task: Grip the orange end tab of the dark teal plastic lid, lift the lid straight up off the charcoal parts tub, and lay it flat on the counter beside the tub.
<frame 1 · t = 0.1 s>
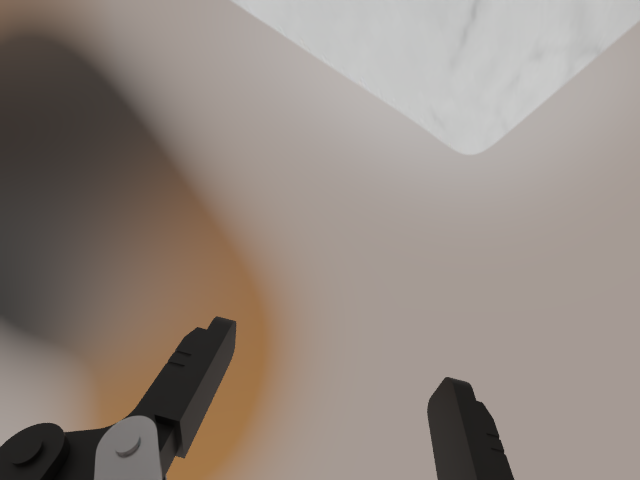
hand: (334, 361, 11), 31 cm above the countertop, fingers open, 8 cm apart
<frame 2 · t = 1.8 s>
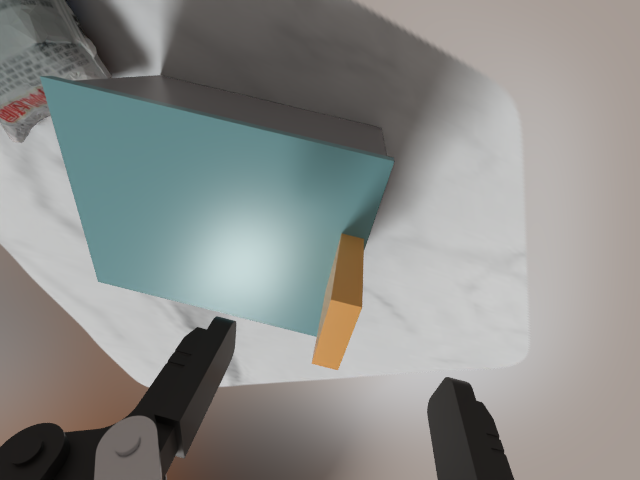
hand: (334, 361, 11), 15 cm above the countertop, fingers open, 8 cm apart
lid: (219, 229, 17), point 8 cm above the countertop, touching tub
packaged food: (57, 58, 21), on the countertop
tub: (262, 181, 24), on the countertop
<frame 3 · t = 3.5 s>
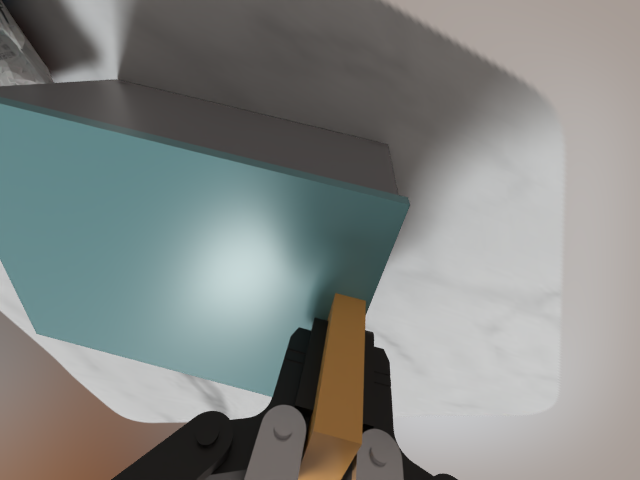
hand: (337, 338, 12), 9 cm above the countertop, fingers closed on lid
lid: (178, 278, 13), point 8 cm above the countertop, touching gripper, tub
tub: (244, 205, 20), on the countertop
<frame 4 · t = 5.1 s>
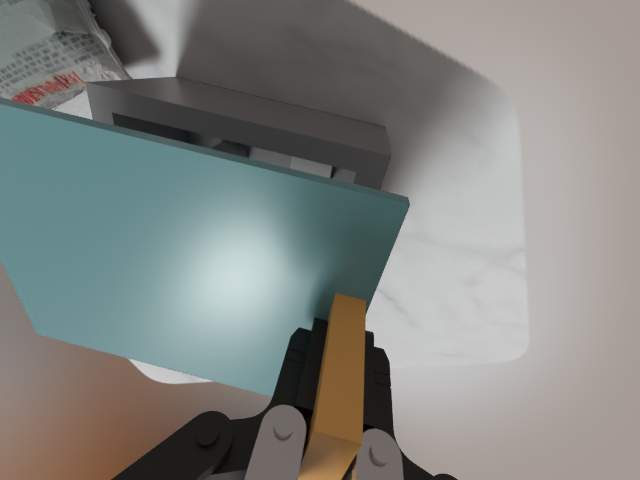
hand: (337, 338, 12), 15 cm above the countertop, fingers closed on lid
lid: (178, 278, 13), point 14 cm above the countertop, touching gripper
packaged food: (71, 48, 22), on the countertop
tub: (270, 178, 25), on the countertop
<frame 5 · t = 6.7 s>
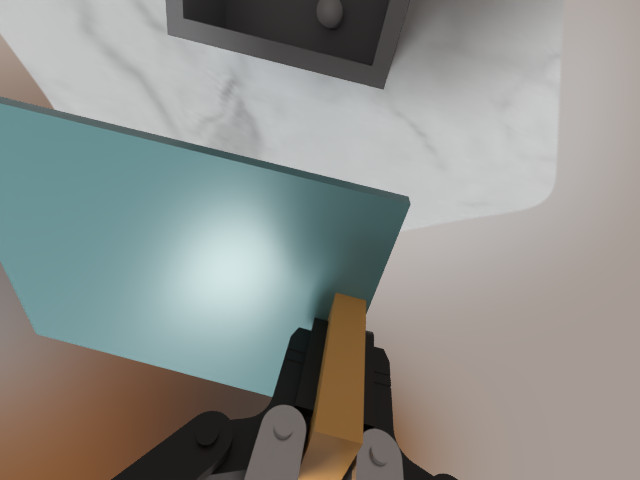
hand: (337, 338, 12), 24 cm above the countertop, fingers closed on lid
lid: (178, 278, 13), point 23 cm above the countertop, touching gripper
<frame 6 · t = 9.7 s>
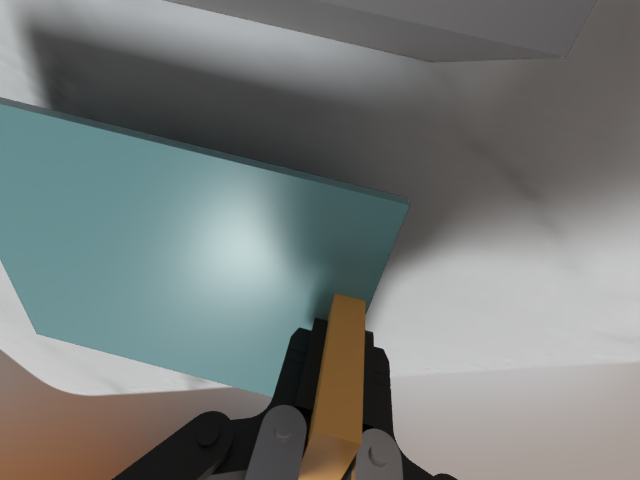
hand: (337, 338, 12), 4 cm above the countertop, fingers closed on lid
lid: (178, 278, 13), point 3 cm above the countertop, touching gripper
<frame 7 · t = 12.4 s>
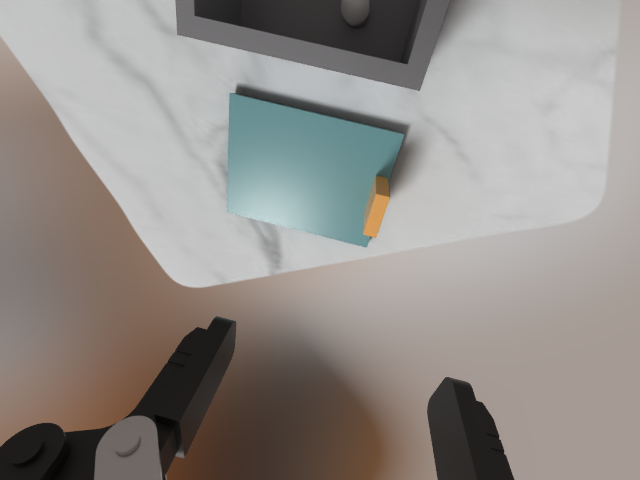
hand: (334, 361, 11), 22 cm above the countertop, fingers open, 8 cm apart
lid: (306, 176, 30), on the countertop
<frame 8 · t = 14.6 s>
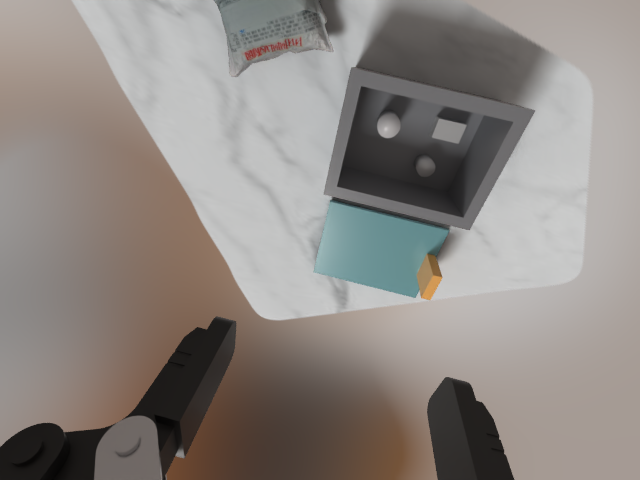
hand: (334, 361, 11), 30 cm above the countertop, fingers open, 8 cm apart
lid: (375, 251, 43), on the countertop
packaged food: (276, 21, 31), on the countertop
tub: (407, 139, 35), on the countertop
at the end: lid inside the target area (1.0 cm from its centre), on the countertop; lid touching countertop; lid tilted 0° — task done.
